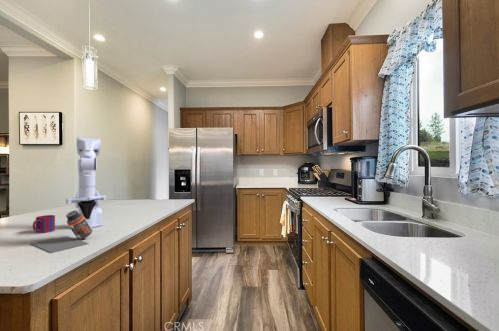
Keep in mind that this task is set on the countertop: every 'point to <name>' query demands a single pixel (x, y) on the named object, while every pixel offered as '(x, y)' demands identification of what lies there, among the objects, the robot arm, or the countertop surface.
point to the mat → (58, 244)
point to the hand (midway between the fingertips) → (86, 219)
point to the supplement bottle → (78, 224)
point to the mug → (44, 224)
